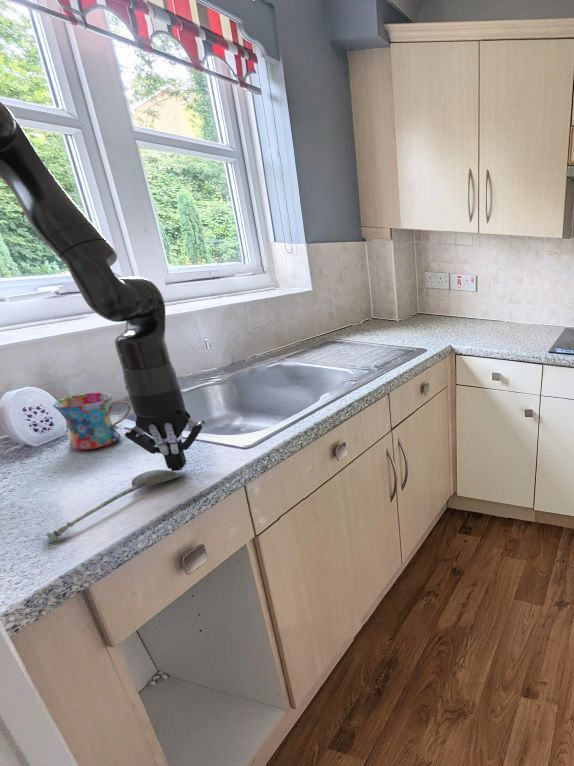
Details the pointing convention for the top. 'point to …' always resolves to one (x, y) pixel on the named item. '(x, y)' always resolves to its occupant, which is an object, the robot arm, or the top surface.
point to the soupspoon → (137, 482)
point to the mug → (90, 419)
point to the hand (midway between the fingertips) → (178, 468)
